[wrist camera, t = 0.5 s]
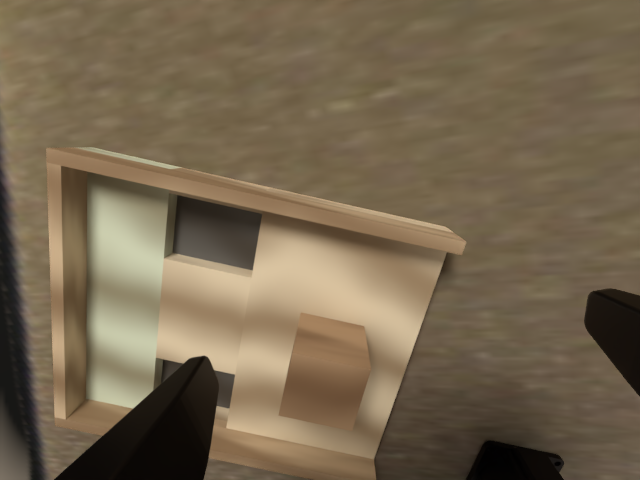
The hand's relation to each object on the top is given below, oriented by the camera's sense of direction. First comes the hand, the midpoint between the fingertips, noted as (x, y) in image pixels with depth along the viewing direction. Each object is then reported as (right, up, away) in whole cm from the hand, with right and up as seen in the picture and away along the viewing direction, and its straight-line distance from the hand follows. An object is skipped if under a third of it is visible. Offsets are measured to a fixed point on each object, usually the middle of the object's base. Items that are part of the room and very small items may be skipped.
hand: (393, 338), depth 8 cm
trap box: (-7, -3, +17) cm, 18 cm away
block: (-1, -5, +15) cm, 16 cm away
